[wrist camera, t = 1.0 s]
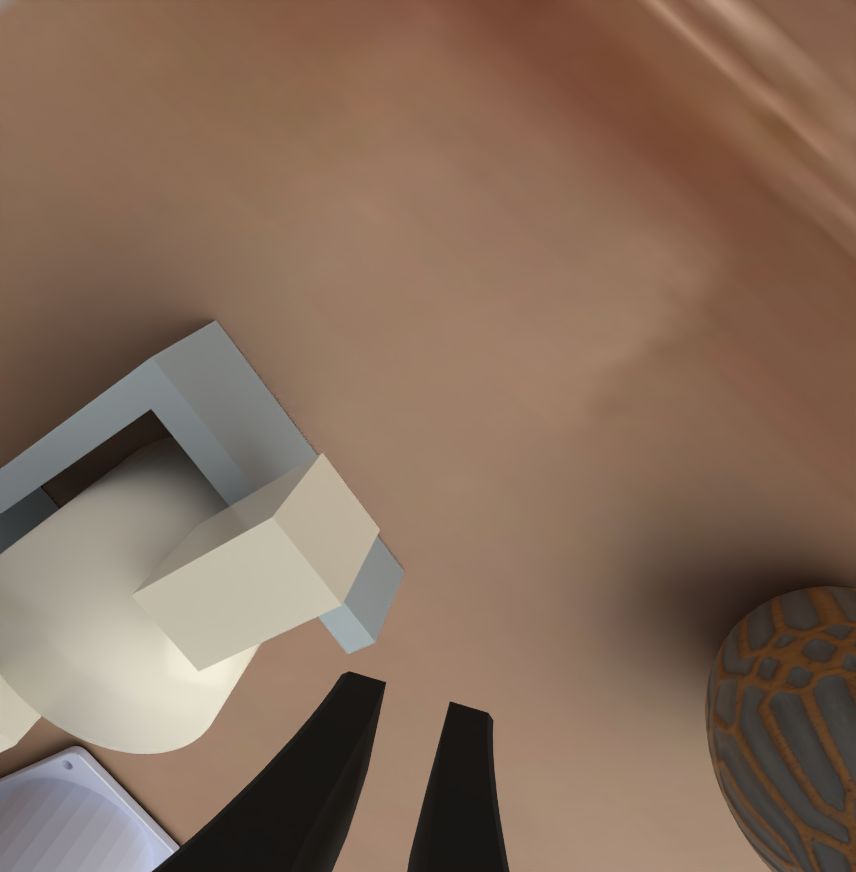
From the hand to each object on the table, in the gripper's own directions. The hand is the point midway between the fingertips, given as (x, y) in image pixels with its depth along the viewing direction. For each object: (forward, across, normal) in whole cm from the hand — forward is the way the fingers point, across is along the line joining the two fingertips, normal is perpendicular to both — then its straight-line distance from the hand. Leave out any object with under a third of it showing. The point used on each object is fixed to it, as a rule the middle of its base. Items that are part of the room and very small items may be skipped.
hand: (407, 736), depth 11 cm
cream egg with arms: (+10, +9, +6) cm, 15 cm away
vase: (+11, -10, +4) cm, 15 cm away
